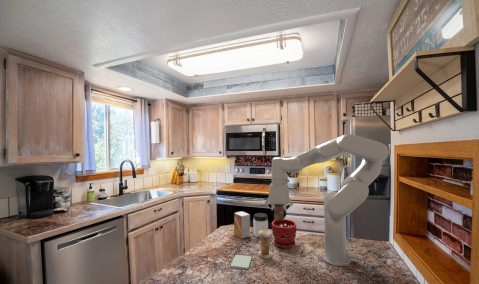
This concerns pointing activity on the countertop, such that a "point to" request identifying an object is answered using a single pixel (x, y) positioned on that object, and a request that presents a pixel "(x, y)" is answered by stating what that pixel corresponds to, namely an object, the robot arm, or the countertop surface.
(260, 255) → the cream drawer knob
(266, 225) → the jar
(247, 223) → the small box
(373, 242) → the countertop surface
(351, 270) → the countertop surface
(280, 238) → the plant pot
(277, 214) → the block
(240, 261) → the board
